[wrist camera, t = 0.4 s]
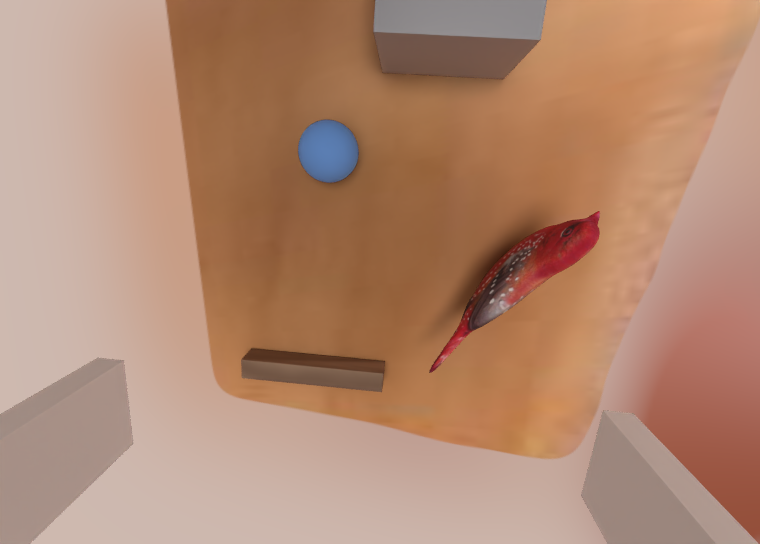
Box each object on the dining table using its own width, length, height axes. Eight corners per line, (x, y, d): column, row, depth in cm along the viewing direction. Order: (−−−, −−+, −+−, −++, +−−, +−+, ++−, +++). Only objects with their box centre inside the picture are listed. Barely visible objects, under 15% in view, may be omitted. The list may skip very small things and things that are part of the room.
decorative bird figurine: (567, 214, 33) (633, 228, 23) (436, 351, 37) (447, 410, 27) (543, 193, 33) (601, 199, 23) (414, 333, 37) (417, 387, 27)
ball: (307, 122, 33) (290, 112, 28) (363, 126, 32) (355, 116, 28) (306, 180, 34) (289, 180, 29) (360, 184, 34) (352, 184, 29)
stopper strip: (251, 348, 39) (241, 359, 36) (384, 361, 38) (383, 373, 35) (252, 365, 39) (241, 377, 37) (383, 378, 38) (381, 392, 36)
